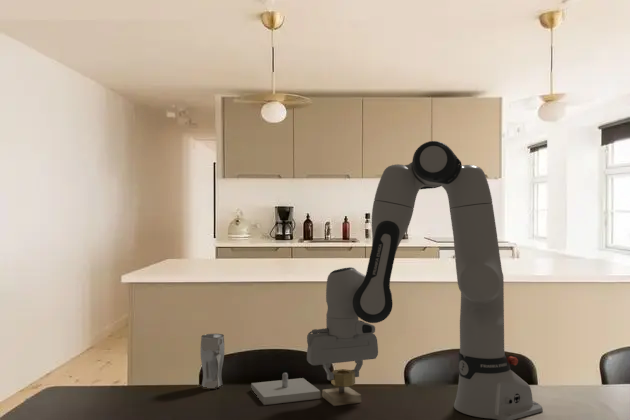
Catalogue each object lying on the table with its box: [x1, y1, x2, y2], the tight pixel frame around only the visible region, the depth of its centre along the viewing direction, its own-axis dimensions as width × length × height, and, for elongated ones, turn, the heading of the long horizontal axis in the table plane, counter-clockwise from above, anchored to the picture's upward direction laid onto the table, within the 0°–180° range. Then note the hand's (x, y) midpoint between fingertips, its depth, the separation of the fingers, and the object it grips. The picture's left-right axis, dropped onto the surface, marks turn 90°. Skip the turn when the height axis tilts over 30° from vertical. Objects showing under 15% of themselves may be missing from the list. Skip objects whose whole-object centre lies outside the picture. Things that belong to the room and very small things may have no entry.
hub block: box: [250, 372, 321, 406], centre depth 146 cm, size 16×14×6 cm
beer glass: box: [200, 333, 225, 388], centre depth 153 cm, size 7×7×15 cm
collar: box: [330, 368, 356, 387], centre depth 142 cm, size 6×6×3 cm
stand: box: [321, 386, 362, 407], centre depth 142 cm, size 8×8×6 cm
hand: (343, 378), depth 142 cm, fingers closed on collar, 6 cm apart
